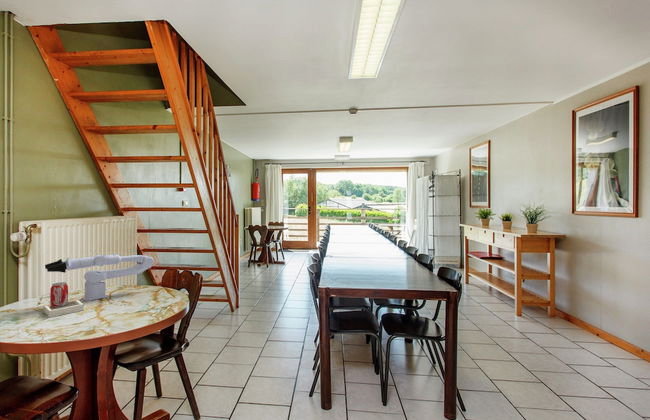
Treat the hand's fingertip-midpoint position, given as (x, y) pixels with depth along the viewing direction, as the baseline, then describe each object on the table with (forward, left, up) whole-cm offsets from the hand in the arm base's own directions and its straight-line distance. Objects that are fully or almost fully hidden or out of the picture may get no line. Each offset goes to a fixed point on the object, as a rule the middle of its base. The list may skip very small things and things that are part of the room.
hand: (46, 268), depth 155 cm
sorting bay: (-5, +15, -20) cm, 26 cm away
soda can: (-5, +4, -21) cm, 22 cm away
